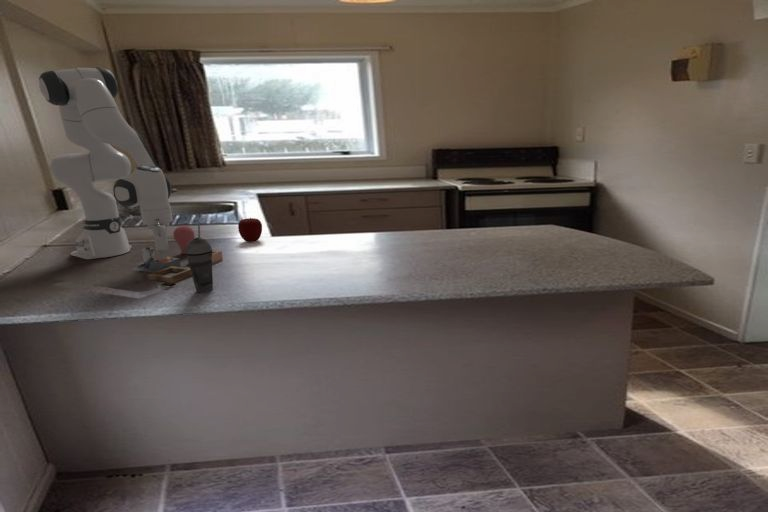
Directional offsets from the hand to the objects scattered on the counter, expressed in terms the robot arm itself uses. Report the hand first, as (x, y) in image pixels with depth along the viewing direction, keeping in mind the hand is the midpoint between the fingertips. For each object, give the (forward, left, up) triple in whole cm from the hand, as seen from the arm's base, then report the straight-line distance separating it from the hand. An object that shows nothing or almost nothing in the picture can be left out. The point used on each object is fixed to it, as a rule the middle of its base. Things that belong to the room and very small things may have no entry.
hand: (164, 258), depth 151 cm
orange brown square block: (+7, +10, -5) cm, 13 cm away
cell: (-7, 0, -3) cm, 8 cm away
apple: (-1, +44, -5) cm, 44 cm away
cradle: (-4, 0, -5) cm, 6 cm away
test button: (0, 0, -2) cm, 2 cm away
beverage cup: (+26, -10, -5) cm, 29 cm away
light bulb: (-9, +17, -5) cm, 20 cm away
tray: (+9, -6, -5) cm, 12 cm away
